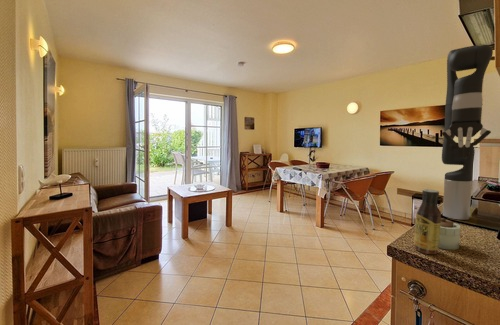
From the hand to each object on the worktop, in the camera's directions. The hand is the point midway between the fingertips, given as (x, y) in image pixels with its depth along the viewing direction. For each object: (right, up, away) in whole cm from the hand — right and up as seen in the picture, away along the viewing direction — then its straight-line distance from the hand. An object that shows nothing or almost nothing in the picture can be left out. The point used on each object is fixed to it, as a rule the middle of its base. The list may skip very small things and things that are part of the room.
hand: (463, 158), depth 81 cm
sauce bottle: (-18, -30, -7) cm, 36 cm away
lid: (-9, -24, -2) cm, 26 cm away
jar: (-9, -29, -2) cm, 31 cm away
